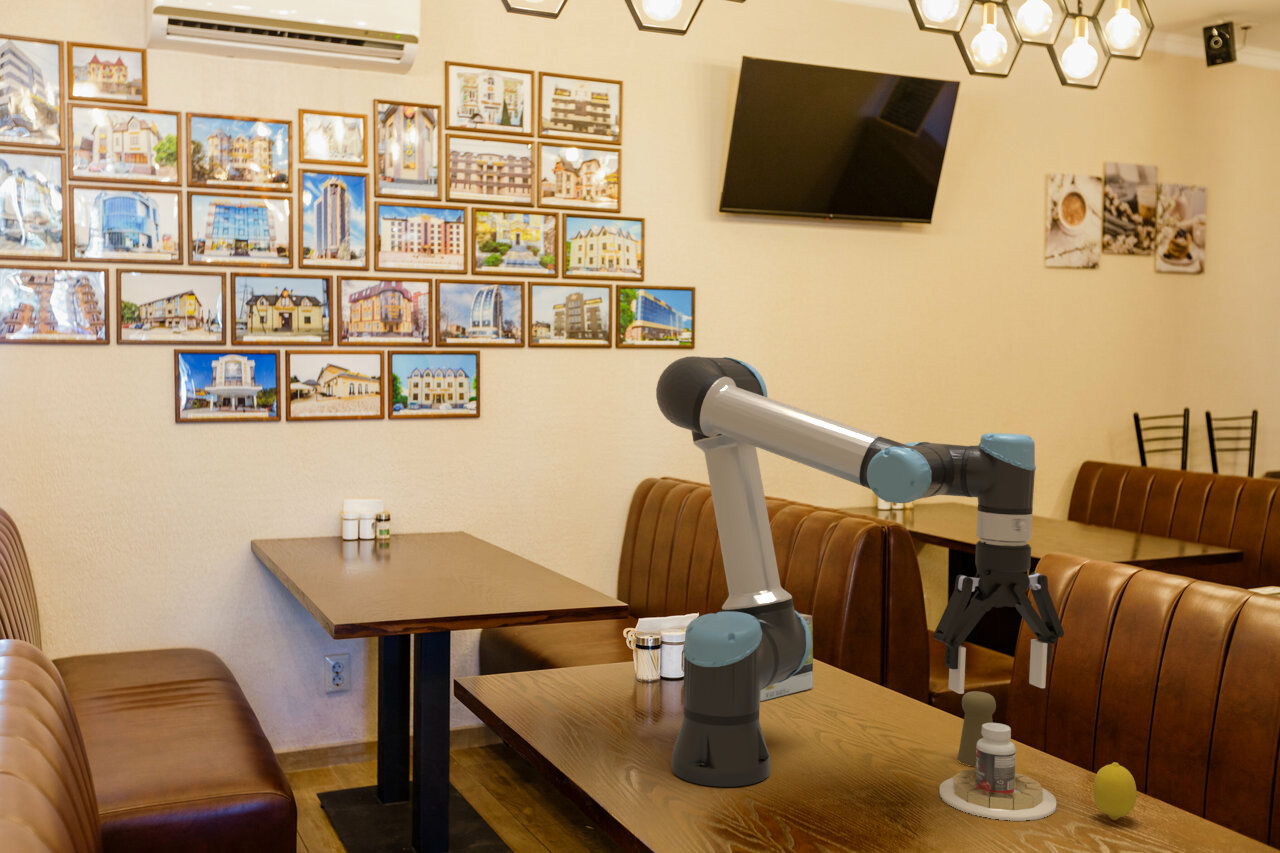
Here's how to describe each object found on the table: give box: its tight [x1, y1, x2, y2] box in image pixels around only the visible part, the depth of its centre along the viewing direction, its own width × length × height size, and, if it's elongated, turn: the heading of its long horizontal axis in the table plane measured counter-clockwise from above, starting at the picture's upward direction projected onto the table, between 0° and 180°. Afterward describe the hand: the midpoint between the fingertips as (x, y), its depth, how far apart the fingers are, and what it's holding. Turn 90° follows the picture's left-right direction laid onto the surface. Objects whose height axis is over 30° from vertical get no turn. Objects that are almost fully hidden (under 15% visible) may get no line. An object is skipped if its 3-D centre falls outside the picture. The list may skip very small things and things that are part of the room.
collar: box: [952, 768, 1043, 810], centre depth 160 cm, size 12×12×2 cm
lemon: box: [1092, 761, 1138, 821], centre depth 153 cm, size 6×6×8 cm
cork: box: [957, 690, 997, 767], centre depth 176 cm, size 6×6×11 cm
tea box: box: [760, 612, 814, 702], centre depth 217 cm, size 15×10×15 cm, turn 130°
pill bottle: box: [975, 722, 1017, 793], centre depth 160 cm, size 5×5×10 cm
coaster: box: [939, 777, 1057, 822], centre depth 160 cm, size 16×16×1 cm
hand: (997, 688), depth 160 cm, fingers open, 13 cm apart
